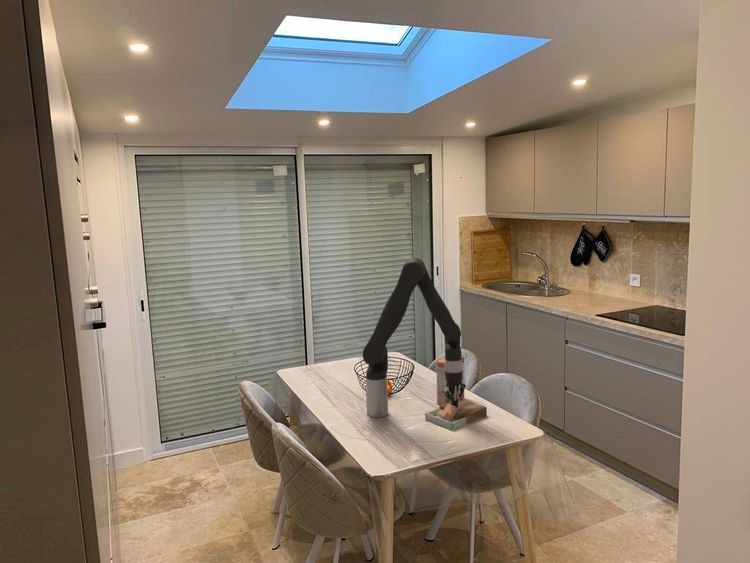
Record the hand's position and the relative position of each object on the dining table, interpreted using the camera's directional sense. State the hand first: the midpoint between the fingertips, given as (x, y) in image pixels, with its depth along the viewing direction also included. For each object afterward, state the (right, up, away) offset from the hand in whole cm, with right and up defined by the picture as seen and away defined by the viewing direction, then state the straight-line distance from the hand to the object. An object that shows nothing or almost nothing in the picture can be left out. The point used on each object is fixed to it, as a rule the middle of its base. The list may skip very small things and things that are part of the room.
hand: (454, 407), depth 237 cm
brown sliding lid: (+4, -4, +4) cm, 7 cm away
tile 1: (-4, -2, -4) cm, 6 cm away
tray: (-5, -5, -3) cm, 8 cm away
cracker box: (+1, -2, +20) cm, 21 cm away
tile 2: (-2, -2, -2) cm, 3 cm away
